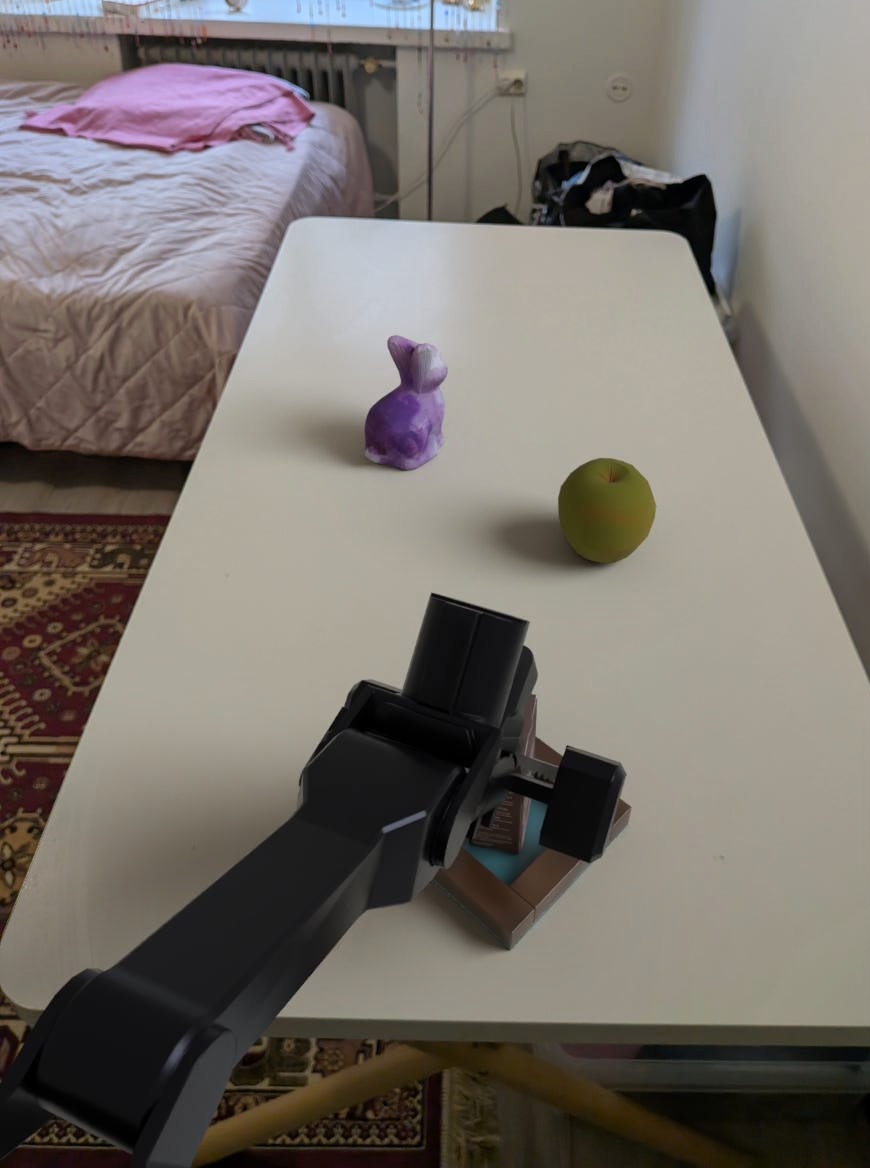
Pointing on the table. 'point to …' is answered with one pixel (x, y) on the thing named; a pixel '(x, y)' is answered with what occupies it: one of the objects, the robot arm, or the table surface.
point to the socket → (517, 872)
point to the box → (512, 801)
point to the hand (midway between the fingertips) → (503, 754)
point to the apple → (606, 509)
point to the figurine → (408, 408)
